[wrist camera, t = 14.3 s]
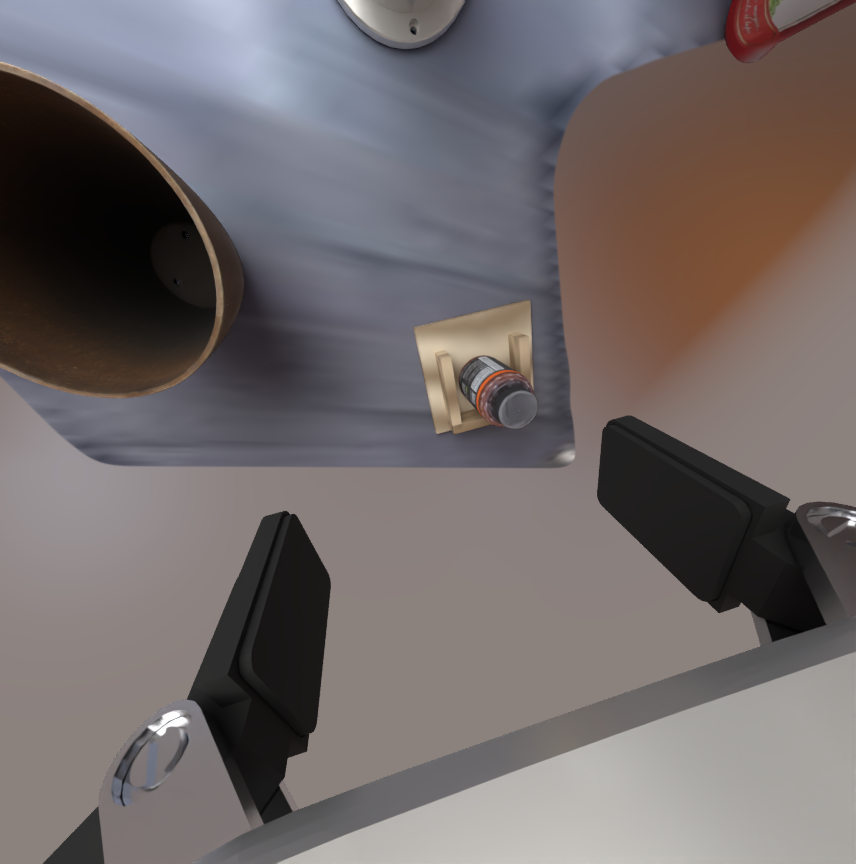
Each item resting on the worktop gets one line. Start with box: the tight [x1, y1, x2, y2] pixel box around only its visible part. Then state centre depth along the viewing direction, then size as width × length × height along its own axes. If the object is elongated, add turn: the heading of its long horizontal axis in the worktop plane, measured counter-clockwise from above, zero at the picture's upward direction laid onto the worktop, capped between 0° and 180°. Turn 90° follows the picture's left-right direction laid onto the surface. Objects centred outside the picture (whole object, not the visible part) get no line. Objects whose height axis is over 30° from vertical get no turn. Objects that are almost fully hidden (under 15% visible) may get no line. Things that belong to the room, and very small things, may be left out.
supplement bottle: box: [459, 355, 538, 429], centre depth 34 cm, size 6×6×11 cm
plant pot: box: [0, 62, 244, 398], centre depth 23 cm, size 15×15×16 cm
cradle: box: [413, 300, 533, 434], centre depth 38 cm, size 14×14×4 cm
